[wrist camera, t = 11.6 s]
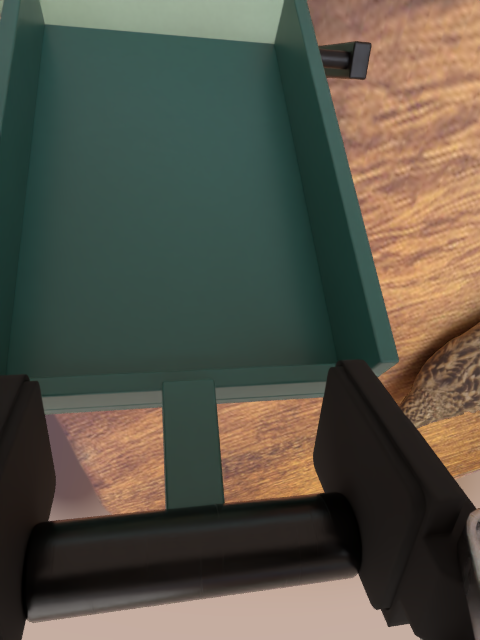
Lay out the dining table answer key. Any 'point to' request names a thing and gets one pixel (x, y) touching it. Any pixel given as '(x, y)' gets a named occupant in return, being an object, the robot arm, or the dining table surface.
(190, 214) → the scoop
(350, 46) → the stand
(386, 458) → the robot arm
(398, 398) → the dining table surface
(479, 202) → the dining table surface
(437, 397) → the bird model
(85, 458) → the dining table surface
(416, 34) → the dining table surface
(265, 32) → the tray
